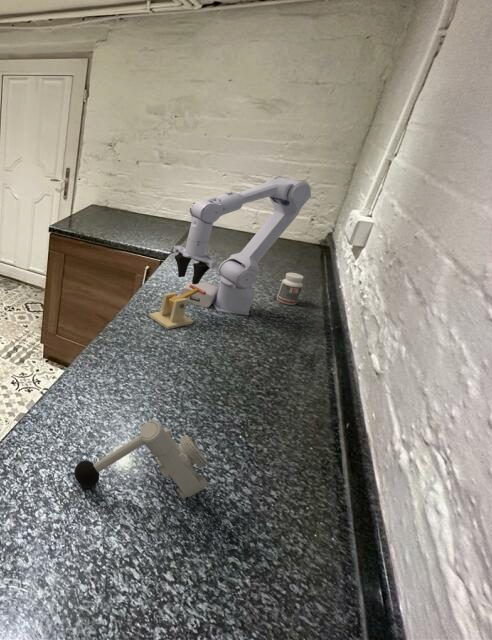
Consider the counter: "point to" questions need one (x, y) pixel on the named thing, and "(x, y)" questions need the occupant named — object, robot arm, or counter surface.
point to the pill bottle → (290, 289)
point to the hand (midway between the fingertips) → (188, 280)
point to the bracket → (172, 313)
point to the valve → (169, 454)
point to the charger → (199, 297)
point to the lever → (185, 295)
